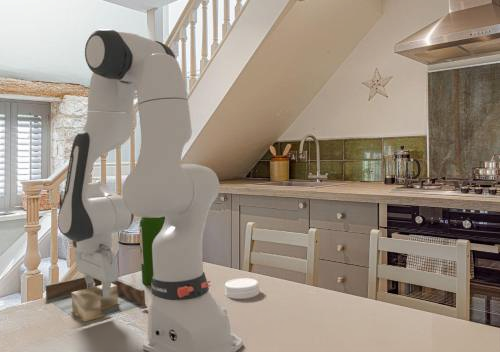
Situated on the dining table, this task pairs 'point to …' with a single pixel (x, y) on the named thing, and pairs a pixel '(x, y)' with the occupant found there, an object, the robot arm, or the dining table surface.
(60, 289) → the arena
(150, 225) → the wine bottle
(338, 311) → the dining table surface
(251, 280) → the coaster
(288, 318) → the dining table surface
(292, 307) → the dining table surface
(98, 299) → the oak L block
